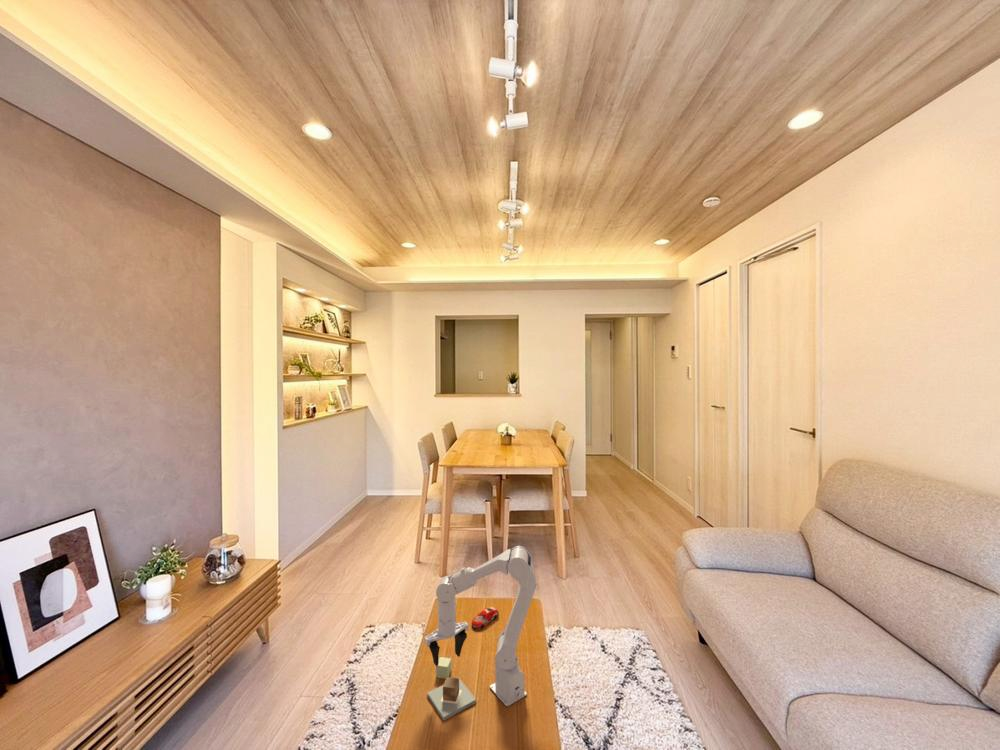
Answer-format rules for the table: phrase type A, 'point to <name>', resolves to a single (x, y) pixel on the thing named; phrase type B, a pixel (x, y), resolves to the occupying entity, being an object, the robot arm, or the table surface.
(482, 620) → the race car
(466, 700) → the baseplate
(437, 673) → the sage cube
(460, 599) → the table surface
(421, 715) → the table surface
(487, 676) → the table surface
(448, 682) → the walnut cube
